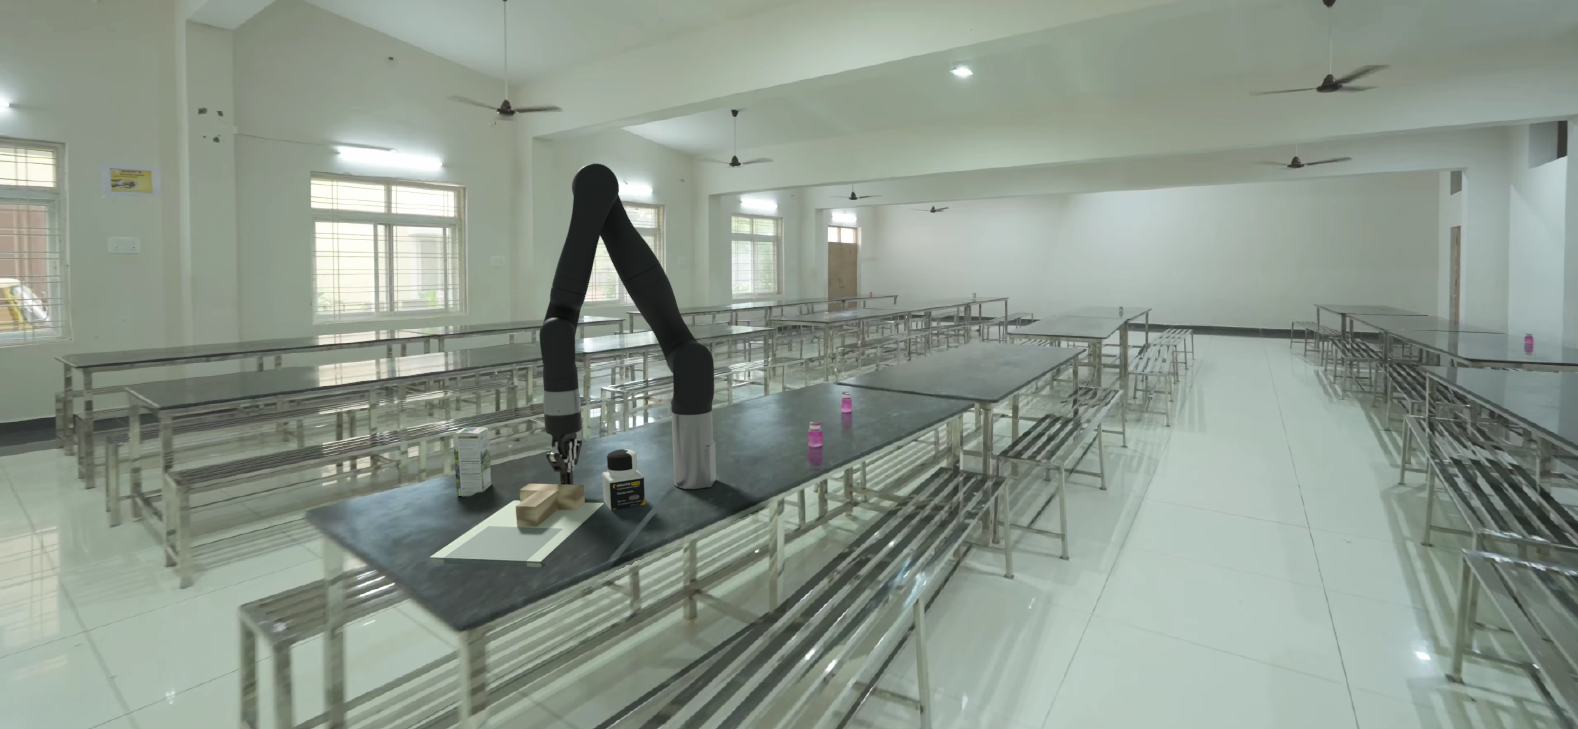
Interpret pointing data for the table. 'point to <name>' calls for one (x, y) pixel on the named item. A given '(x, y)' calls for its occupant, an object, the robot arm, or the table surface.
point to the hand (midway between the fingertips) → (567, 487)
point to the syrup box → (472, 460)
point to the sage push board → (514, 538)
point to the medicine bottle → (623, 480)
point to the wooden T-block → (546, 502)
